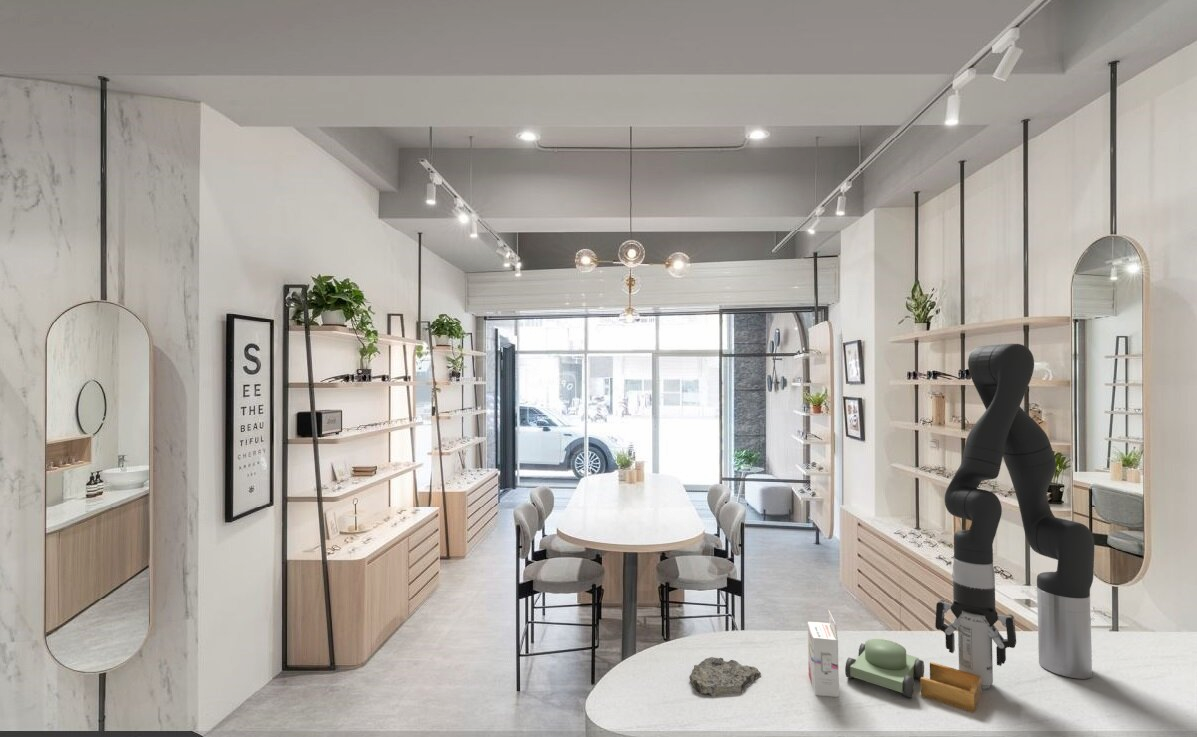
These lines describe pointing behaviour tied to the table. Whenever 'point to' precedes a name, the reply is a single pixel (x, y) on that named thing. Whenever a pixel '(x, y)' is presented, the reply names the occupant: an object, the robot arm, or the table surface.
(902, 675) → the green toy car
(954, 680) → the bracket
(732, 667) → the stone slab
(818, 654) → the ink cartridge box
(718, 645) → the table surface
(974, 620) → the energy drink can
